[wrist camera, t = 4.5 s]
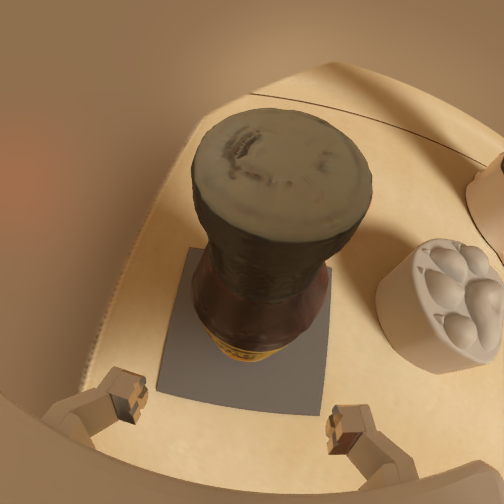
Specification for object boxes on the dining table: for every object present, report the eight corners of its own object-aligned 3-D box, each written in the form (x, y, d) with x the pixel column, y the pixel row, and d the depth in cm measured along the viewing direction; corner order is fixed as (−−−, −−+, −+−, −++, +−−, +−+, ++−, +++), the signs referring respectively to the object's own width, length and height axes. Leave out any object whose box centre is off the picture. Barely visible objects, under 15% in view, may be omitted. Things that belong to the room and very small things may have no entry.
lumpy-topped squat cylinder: (447, 384, 21) (505, 373, 13) (356, 330, 24) (403, 302, 16) (470, 304, 25) (519, 275, 17) (392, 249, 28) (432, 203, 20)
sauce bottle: (198, 319, 24) (95, 133, 6) (256, 281, 25) (279, 64, 8) (242, 380, 21) (235, 372, 4) (300, 337, 23) (447, 188, 5)
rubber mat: (330, 269, 26) (331, 267, 26) (318, 415, 20) (319, 416, 20) (189, 248, 27) (189, 247, 27) (157, 390, 21) (156, 390, 20)
